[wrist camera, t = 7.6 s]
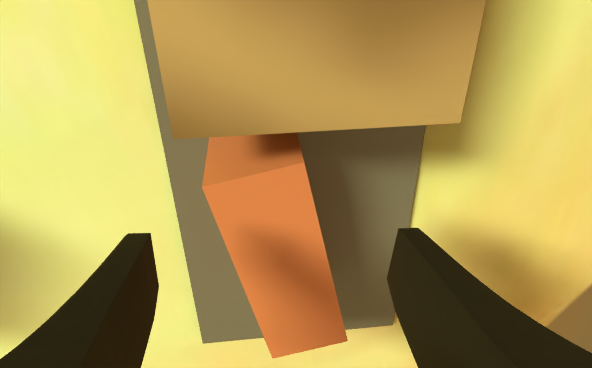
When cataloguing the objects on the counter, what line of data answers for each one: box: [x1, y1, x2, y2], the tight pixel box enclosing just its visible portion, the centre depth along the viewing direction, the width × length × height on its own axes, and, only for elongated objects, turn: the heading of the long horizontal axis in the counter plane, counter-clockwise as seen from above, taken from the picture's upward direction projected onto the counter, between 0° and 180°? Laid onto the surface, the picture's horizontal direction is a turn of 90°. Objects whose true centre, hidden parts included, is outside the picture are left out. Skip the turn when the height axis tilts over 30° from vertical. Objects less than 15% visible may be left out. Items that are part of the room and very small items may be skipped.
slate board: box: [134, 0, 426, 343], centre depth 21 cm, size 31×13×1 cm, turn 1°
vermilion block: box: [202, 132, 348, 358], centre depth 21 cm, size 11×4×5 cm, turn 12°
